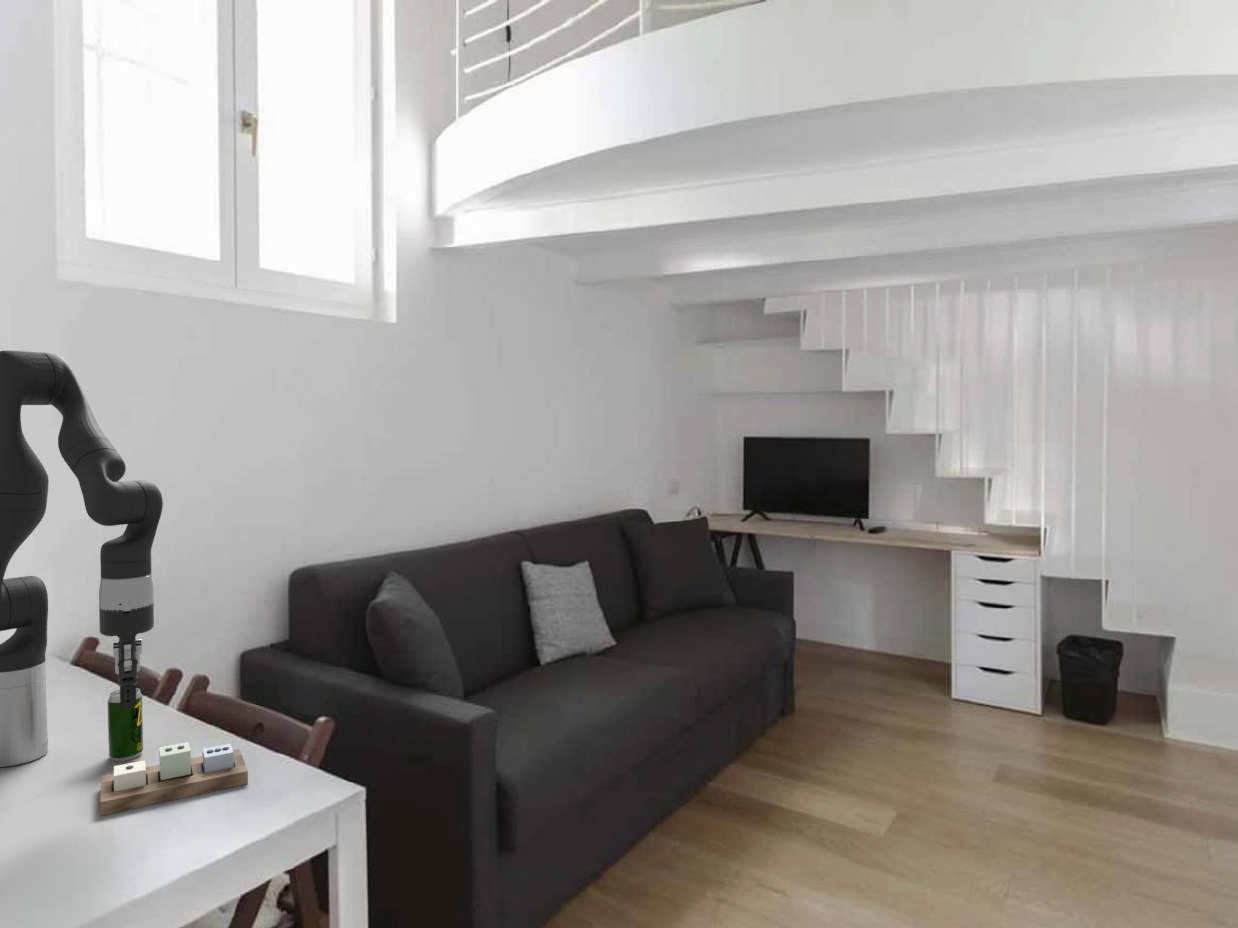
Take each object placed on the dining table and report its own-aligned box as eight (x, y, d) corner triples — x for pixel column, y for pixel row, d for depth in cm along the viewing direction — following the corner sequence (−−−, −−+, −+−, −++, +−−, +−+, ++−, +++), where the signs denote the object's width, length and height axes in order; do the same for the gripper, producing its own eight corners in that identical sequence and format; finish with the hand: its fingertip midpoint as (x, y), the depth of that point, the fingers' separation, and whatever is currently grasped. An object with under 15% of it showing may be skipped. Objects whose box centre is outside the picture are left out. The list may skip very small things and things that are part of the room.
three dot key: (205, 780, 132) (204, 756, 132) (202, 771, 136) (202, 747, 136) (233, 774, 135) (233, 750, 135) (230, 765, 138) (230, 742, 138)
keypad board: (100, 815, 122) (100, 802, 122) (102, 788, 131) (101, 775, 131) (247, 783, 133) (247, 770, 133) (239, 760, 142) (239, 748, 142)
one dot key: (114, 800, 125) (113, 774, 125) (114, 789, 129) (113, 764, 129) (146, 793, 128) (145, 768, 128) (145, 783, 131) (144, 758, 131)
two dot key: (160, 780, 129) (160, 755, 129) (159, 770, 132) (159, 746, 132) (190, 773, 131) (190, 749, 131) (189, 764, 135) (188, 740, 135)
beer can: (109, 764, 140) (107, 699, 140) (108, 754, 145) (107, 690, 144) (143, 757, 143) (142, 693, 143) (142, 747, 148) (141, 685, 147)
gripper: (100, 597, 131) (101, 698, 131) (98, 613, 119) (100, 724, 120) (152, 592, 135) (153, 691, 136) (155, 608, 124) (156, 715, 124)
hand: (128, 706), depth 128 cm, fingers closed
